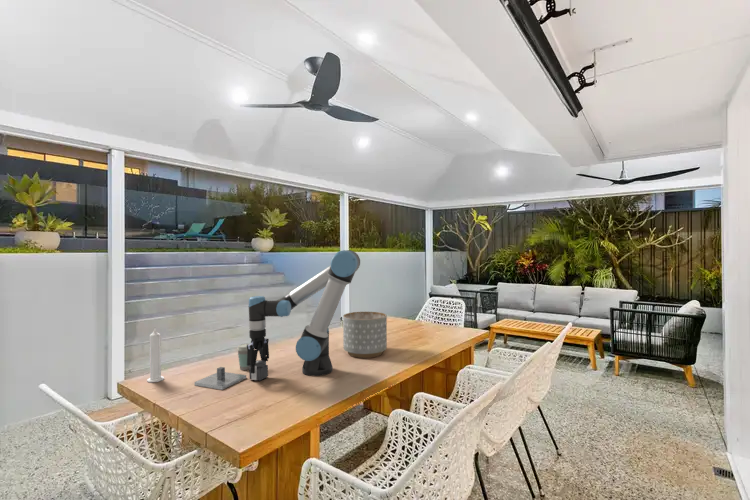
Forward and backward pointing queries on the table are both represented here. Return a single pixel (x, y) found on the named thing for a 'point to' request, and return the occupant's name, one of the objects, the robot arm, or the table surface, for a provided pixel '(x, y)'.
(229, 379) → the grey square plate
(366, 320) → the planter
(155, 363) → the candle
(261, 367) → the knob
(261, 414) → the table surface
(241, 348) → the coffee cup
